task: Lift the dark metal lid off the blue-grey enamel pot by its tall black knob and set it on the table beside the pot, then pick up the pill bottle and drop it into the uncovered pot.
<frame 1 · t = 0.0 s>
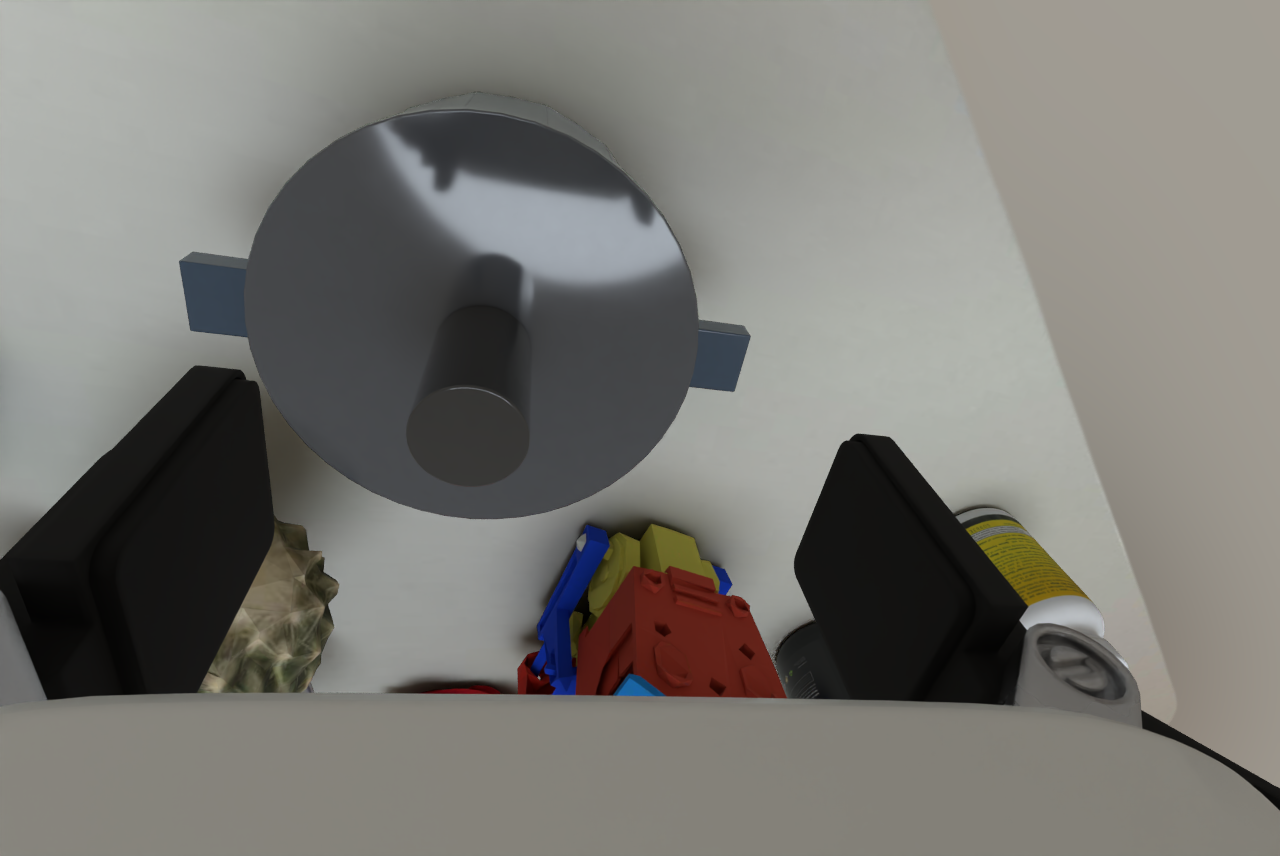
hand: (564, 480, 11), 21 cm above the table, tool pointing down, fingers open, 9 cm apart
pot: (498, 262, 30), on the table
supplement bottle: (820, 648, 47), on the table
toy train: (616, 601, 42), on the table
flower: (576, 745, 50), on the table
potted plant: (215, 572, 37), on the table
lid: (485, 342, 23), point 8 cm above the table, touching pot
pill bottle: (966, 539, 43), on the table
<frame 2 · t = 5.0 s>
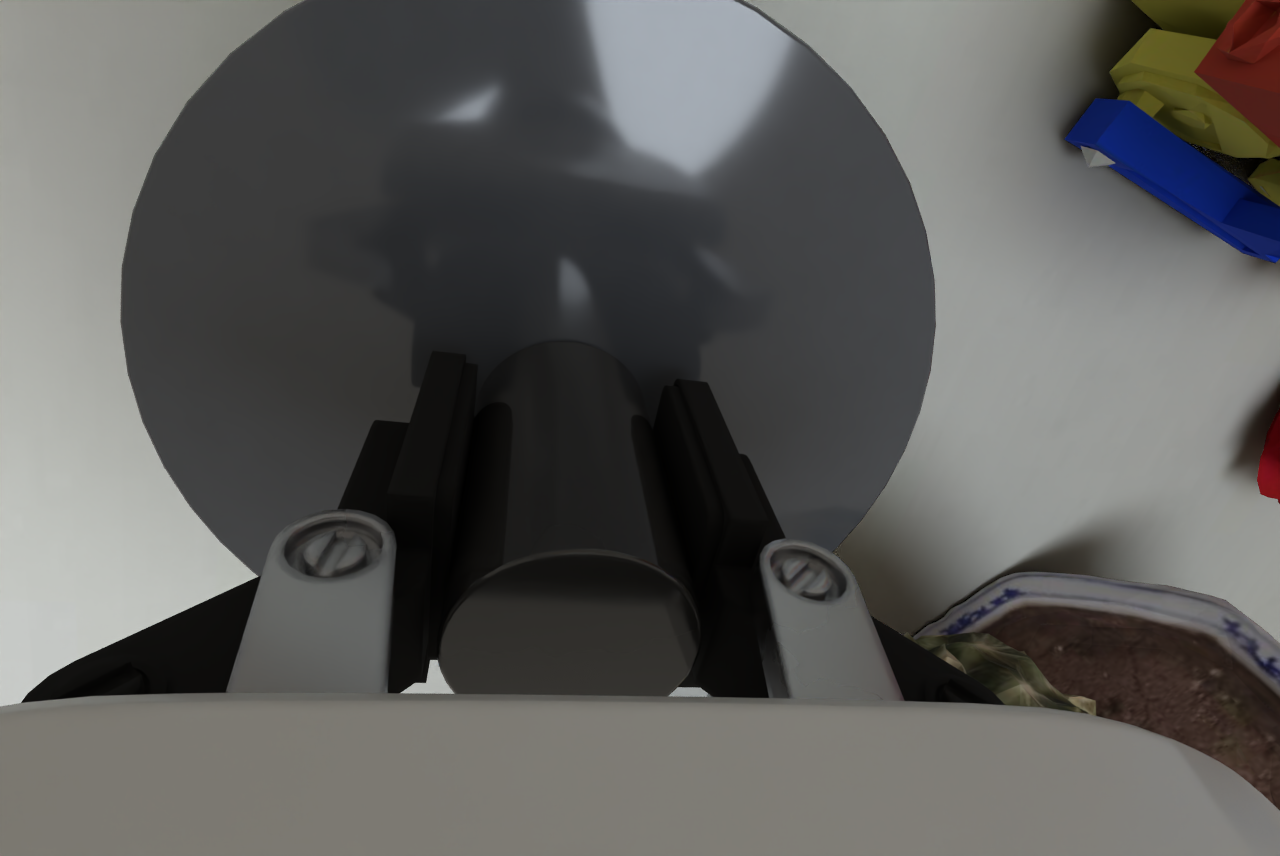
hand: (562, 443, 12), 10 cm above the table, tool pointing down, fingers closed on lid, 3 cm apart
potted plant: (942, 609, 32), on the table
lid: (561, 401, 13), point 9 cm above the table, touching gripper, pot
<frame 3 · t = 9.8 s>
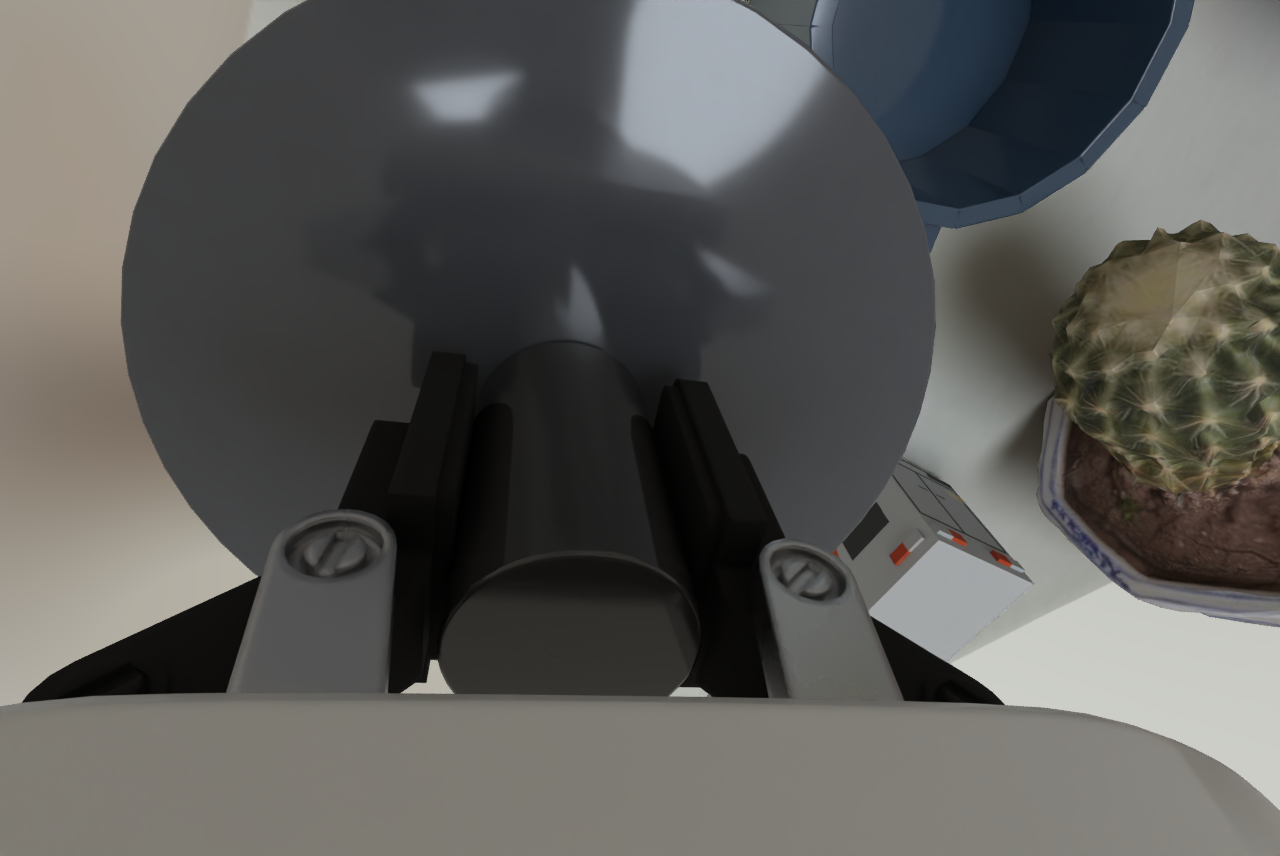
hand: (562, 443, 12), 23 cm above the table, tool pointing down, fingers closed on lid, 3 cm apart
pot: (895, 21, 30), on the table
toy vehicle: (820, 542, 47), on the table
potted plant: (1097, 354, 41), on the table
lid: (561, 402, 13), point 22 cm above the table, touching gripper
when the fingers open (2 cm above the table, at t = 14.6 s): lid stays where it is, point 1 cm above the table.
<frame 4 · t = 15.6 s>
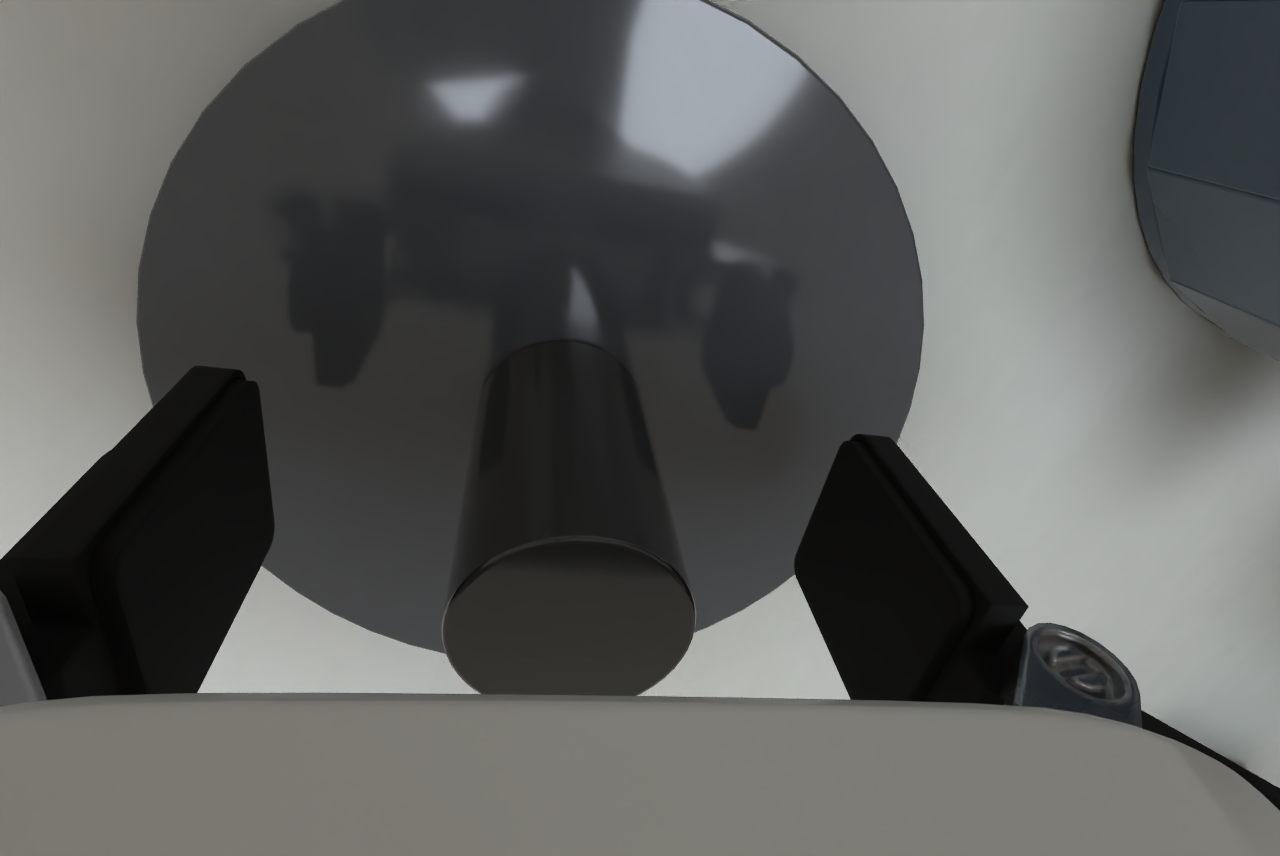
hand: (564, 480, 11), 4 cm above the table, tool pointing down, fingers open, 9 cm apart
lid: (560, 399, 14), point 1 cm above the table
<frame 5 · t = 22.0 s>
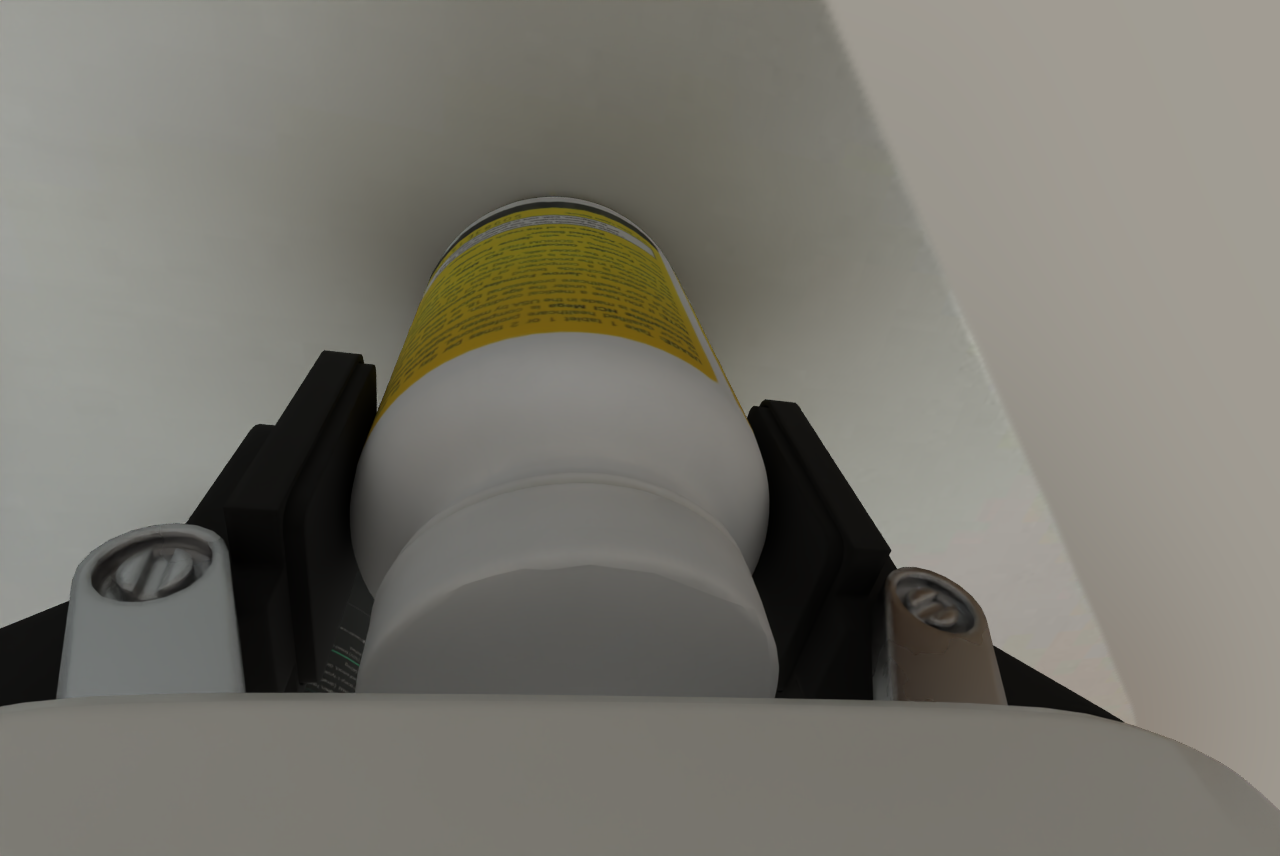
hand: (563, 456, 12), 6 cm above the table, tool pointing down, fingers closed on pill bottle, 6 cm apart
supplement bottle: (302, 607, 21), on the table
pill bottle: (557, 316, 17), on the table, touching gripper
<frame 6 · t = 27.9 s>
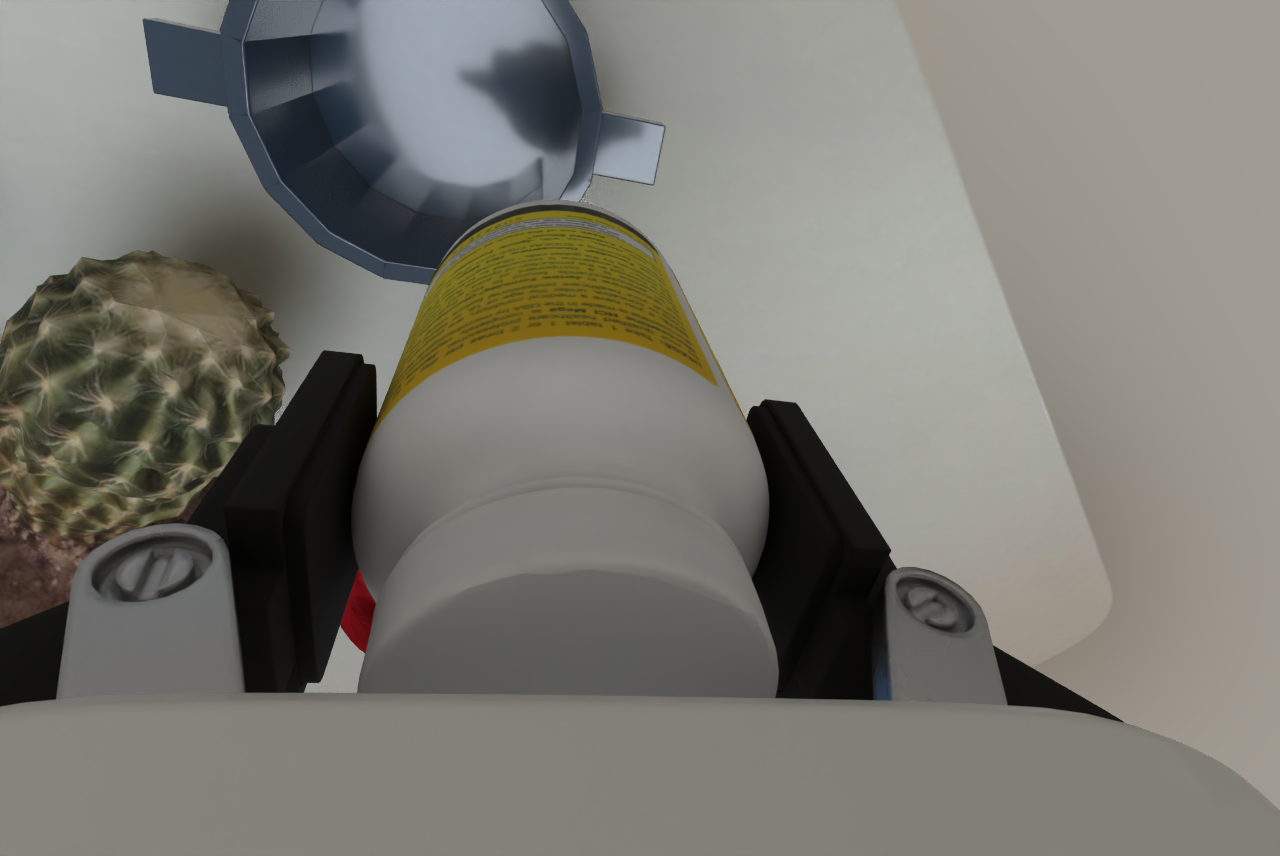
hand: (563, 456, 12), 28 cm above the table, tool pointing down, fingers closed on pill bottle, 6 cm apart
pot: (447, 90, 32), on the table
flower: (535, 616, 52), on the table
potted plant: (186, 410, 40), on the table
pill bottle: (557, 318, 17), point 21 cm above the table, touching gripper
when the fingers open (7 cm above the table, at t = 33.7 s): pill bottle stays where it is, resting on pot.
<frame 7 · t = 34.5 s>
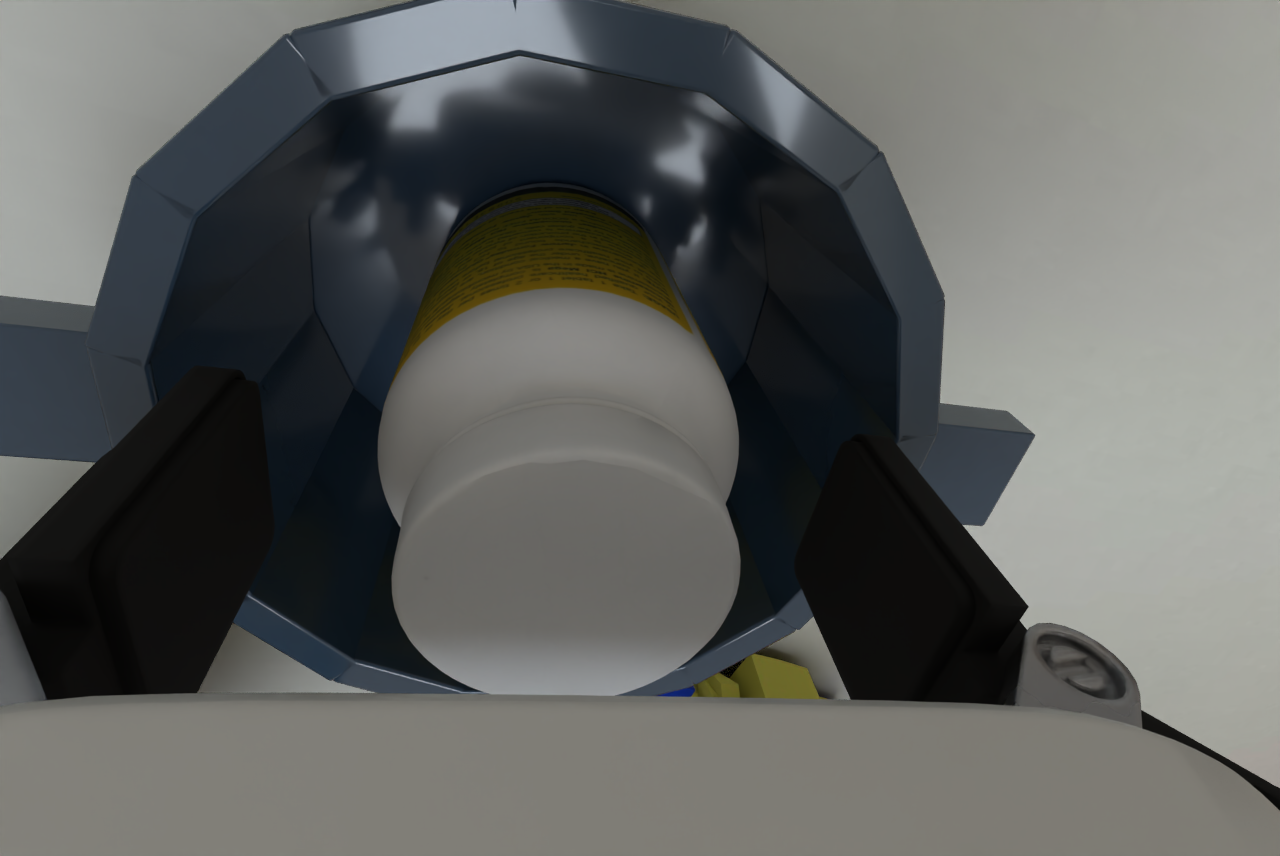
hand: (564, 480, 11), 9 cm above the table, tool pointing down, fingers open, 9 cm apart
pot: (549, 290, 19), on the table
toy train: (689, 742, 31), on the table
pill bottle: (553, 294, 18), resting on pot
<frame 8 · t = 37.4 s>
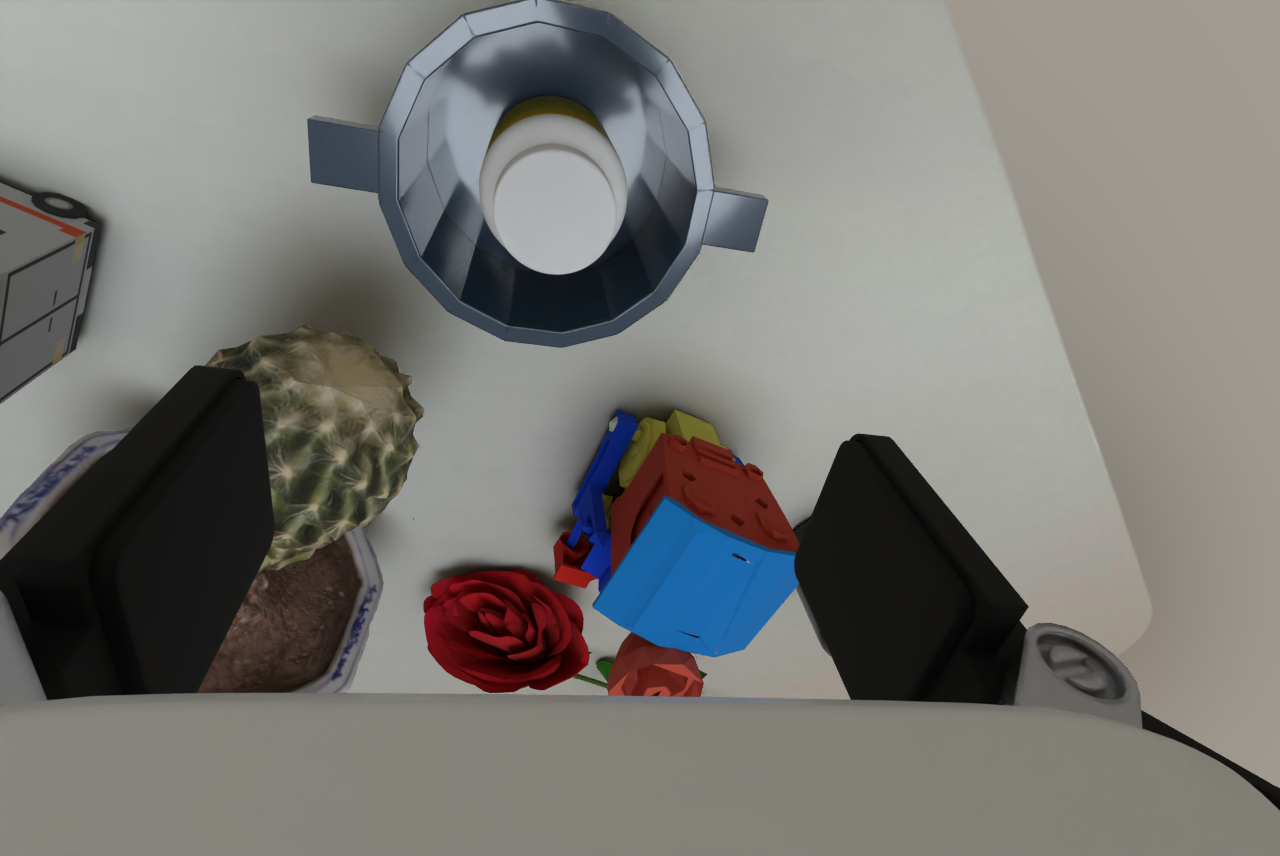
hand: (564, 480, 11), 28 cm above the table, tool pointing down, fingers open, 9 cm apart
pot: (549, 157, 35), on the table
supplement bottle: (823, 542, 52), on the table
toy train: (641, 489, 47), on the table
flower: (601, 635, 55), on the table
potted plant: (289, 450, 42), on the table
pill bottle: (551, 158, 34), resting on pot
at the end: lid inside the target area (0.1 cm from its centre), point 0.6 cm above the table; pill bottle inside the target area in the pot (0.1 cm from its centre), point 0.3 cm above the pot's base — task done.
